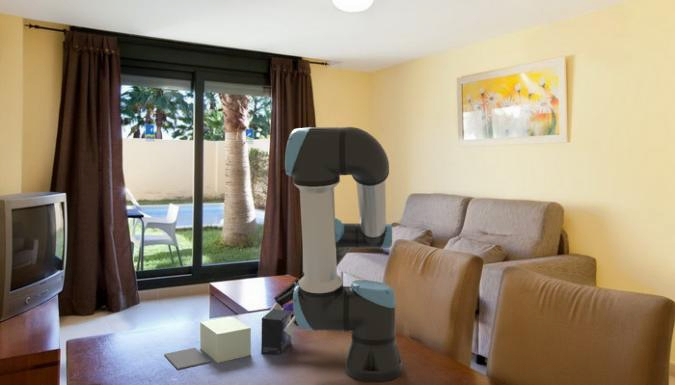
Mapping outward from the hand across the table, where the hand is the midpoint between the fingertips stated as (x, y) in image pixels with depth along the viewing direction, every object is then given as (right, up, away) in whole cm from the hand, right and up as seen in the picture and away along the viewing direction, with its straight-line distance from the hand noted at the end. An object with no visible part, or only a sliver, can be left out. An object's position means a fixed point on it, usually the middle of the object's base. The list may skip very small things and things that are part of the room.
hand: (276, 327), depth 147 cm
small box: (0, -6, -1) cm, 6 cm away
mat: (-24, -6, -9) cm, 27 cm away
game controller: (+2, -6, +33) cm, 34 cm away
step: (-15, -6, -4) cm, 16 cm away
